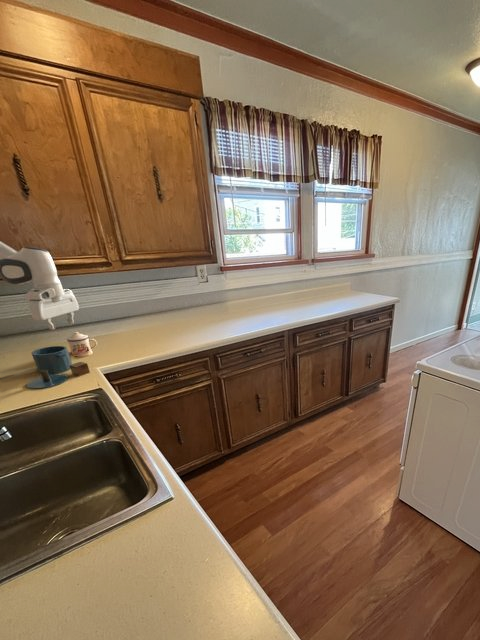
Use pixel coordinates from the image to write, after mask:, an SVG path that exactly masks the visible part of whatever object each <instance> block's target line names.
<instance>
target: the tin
mask: <svg viewBox="0 0 480 640" xmlns="http://www.w3.org/2000/svg"><path fill="white" fill-rule="evenodd" d="M31 356H32V359H33V361H34V364H35V365H36V369H37V371H38V374H39V375H41V373H40V371H41V370H47V371H48V374H49V375H59V374H61V373H65V372H68V371H71V368H70V366H69V365H72V364H73V363H72V360H71V359H72V358H71V357H70V354H69V351H68V348H67V346H64V345H52V346H46V347H41V348H37V349H35V350H32V351H31Z"/></svg>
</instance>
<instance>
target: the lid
mask: <svg viewBox="0 0 480 640" xmlns="http://www.w3.org/2000/svg"><path fill="white" fill-rule="evenodd" d="M40 373H41V374H40V377H36V378H34V379H32V380H30V381H29V382H28V383H26V388H28V389H30V390H43V389H48V388H53V387H56V386H59V385H62V384H63V383H65V382H66V381H68V379H69V378H68V375H66V374H51V375H49V374H48V371H47V370H41V371H40Z"/></svg>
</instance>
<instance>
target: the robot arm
mask: <svg viewBox="0 0 480 640" xmlns="http://www.w3.org/2000/svg"><path fill="white" fill-rule="evenodd" d="M0 278H1V279H2V280H3V281H5V282H6V283H8V284H10V285H23V284H29V283H32V284H33V286H34V287H33V288H32V289H30V290H29V291H28V292H25V294H24V297H25V299H26V300H27V301H28V302H27V307H28V311H29V313H30V315H31V317H32V319H33V320H35V321H43V322H44V323H45V324H46V325H47V326H48V328H49V330H51V331H53V330H56V329H57V326H56V324H54V323H52V318H56V317H59V316H63V315H67V319H66V322H67V324H69V325H71V324H72V325H73V324H74V323H75V321H74V316H75V313H74V312H78V311H79V310H80V305H79V302H78V300H77V298H76V295H74V293H73V290H71V289H70V288H68V287H67V288H66V287H65V288H63V285H62V282H61V280H60V279H59V277H58V270H57V267H56V265H55V262H54V260H53V257H52V255H51V254H50V252H49V251H48V250H47V249H45V248H43V247H39V246H22V248H21V249H20V250H19V251H18V250H17V249H15V248H13V247H11V246H10V245H8V244H6V242H4V241H2V240H0Z"/></svg>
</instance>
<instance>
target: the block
mask: <svg viewBox="0 0 480 640" xmlns="http://www.w3.org/2000/svg"><path fill="white" fill-rule="evenodd" d="M69 366H70V368H71V369H70V371H71V374H72V375H73V376H76V377H81V376H85V375H87V374H90V373H91V371H90V369H89V365H88V363H87V362H84V361H78V362H75V363H72V365H69Z"/></svg>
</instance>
